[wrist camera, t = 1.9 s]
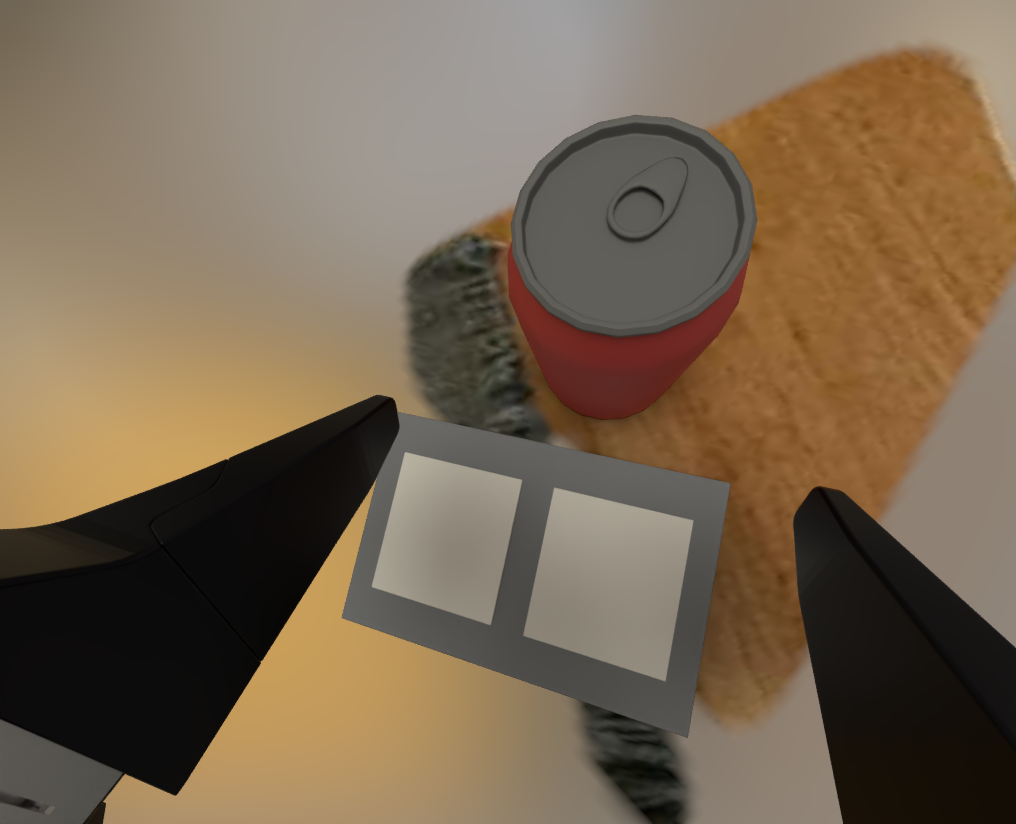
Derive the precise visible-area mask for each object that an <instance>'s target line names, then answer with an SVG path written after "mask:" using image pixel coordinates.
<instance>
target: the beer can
mask: <svg viewBox="0 0 1016 824" xmlns="http://www.w3.org/2000/svg"><path fill="white" fill-rule="evenodd" d="M756 224H757V215H756V208H755V201H754V195H753V188H752V184H751V182H750V180H749V178H748V177H747V175H746V173H745V172H744V170H743V168H742V166H741V165H740V163H739V161H738V160H737V158H736V156H735V154H734V153H733V152H731V151H730V150H729V149H728V148H727V147H725V146H724V145H723V144H722V143H721V142H719V141H718V140H717V139H716V138H714V137H713V136H712V135H711V134H710V133H708V132H707V131H705V130H703V129H700V128H698V127H695V126H692V125H690V124H687V123H684V122H682V121H679V120H677V119H674V118H669V117H655V116H654V117H653V116H642V115H633V116H628V117H623V118H618V119H613V120H608V121H603V122H598V123H596V124H594V125H592V126H590V127H588V128H586V129H584V130H582V131H580V132H578V133H576V134H574V135H572V136H570V137H568V138H566V139H564V140H563V141H562V142H561V143H560V144H559V145H558V146H556V147H555V148H554V149H553V150H552V151H551V152H550V153H548V155H546V156H545V157H544V158H543V159H542V160H541V161H539V163H538V164H537V166H536V167H535V169H534V170H533V172H532V173H531V175H530V176H529V178H528V180H527V181H526V183H525V184H524V186H523V187H522V189H521V190H520V193H519V196H518V200H517V204H516V207H515V211H514V214H513V218H512V221H511V232H512V242H511V245H510V249H509V252H508V279H509V298H510V300H511V303H512V305H513V308H514V310H515V313H516V315H517V317H518V320H519V322H520V325H521V327H522V330H523V332H524V334H525V336H526V338H527V340H528V342H529V344H530V347H531V349H532V351H533V353H534V355H535V357H536V359H537V361H538V364H539V366H540V368H541V370H542V372H543V374H544V376H545V378H546V381H547V383H548V385H549V387H550V389H551V390H552V391H553V392H554V394H555V395H556V396H557V397H558V398H559V399H560V401H561V402H562V403H563V404H564V405H566V406H568V407H569V408H571V409H573V410H574V411H576V412H578V413H579V414H581V415H585V416H589V417H593V418H598V419H602V420H603V419H617V418H625V417H628V416H630V415H633V414H635V413H638V412H640V411H643V410H645V409H646V408H647V407H648V406H650V405H651V404H652V403H653V402H655V401H656V400H657V399H658V398H659V397H661V396H662V395H663V394H664V392H665V391H666V390H667V389H668V388H669V387H670V386H671V385H672V384H673V383H674V382H675V381H676V380H677V379H678V378H679V377H680V375H681V374H682V373H683V372H684V371H685V370H686V369H687V368H688V367H689V366H690V365H691V364H692V363H693V362H694V361H695V359H696V358H697V357H698V356H699V355H700V354H701V353H702V352H703V351H704V350H705V349H706V348H707V347H708V346H709V345H710V343H711V342H712V341H713V340H714V339H715V338H716V337H717V336H718V335H719V333H720V332H721V330H722V328H723V327H724V325H725V324H726V322H727V320H728V319H729V317H730V316H731V314H732V313H733V311H734V309H735V308H736V306H737V305H738V303H739V299H740V296H741V292H742V288H743V284H744V279H745V275H746V270H747V265H748V261H749V256H750V251H751V246H752V242H753V237H754V233H755V228H756Z"/></svg>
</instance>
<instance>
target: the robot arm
mask: <svg viewBox="0 0 1016 824" xmlns="http://www.w3.org/2000/svg"><path fill="white" fill-rule="evenodd" d="M399 428H400V424H399V418H398V413H397V408H396V403H395V401H394V399H393V398H391V397H387V396H382V395H375V396H373V397H370V398H368V399H366V400H363V401H361V402H359V403H356V404H354V405H352V406H349V407H347V408H345V409H343V410H341V411H338V412H336V413H333V414H331V415H329V416H326V417H324V418H322V419H319V420H317V421H314V422H312V423H310V424H307V425H305V426H303V427H300V428H298V429H296V430H293V431H291V432H289V433H286V434H284V435H282V436H280V437H277V438H274V439H272V440H270V441H268V442H265V443H263V444H261V445H258V446H256V447H254V448H251V449H249V450H247V451H244V452H242V453H239V454H237V455H235V456H233V457H230V458H229V460H227V459H225V460H223V461H220V462H218V463H216V464H214V465H211V466H209V467H207V468H204V469H202V470H199V471H197V472H194V473H192V474H189V475H187V476H185V477H182V478H180V479H177V480H174V481H172V482H169V483H166V484H164V485H161V486H159V487H156V488H153V489H151V490H148V491H145V492H142V493H139V494H137V495H134V496H131V497H128V498H126V499H123V500H120V501H117V502H115V503H112V504H109V505H106V506H104V507H101V508H98V509H96V510H93V511H90V512H87V513H85V514H82V515H79V516H76V517H73V518H70V519H67V520H64V521H60V522H56V523H52V524H48V525H43V526H37V527H29V528H19V529H0V824H103V819H104V813H105V807H106V803H104V802H103V801H104V800H105V799H106V797H107V796H108V795H109V794H110V792H111V791H112V790H113V788H114V787H115V786H116V785H117V784H118V782H119V781H120V780H121V778H122V777H123V776H124V775H125V774H126V775H129V776H131V777H133V778H135V779H138V780H140V781H142V782H145V783H147V784H149V785H152V786H154V787H156V788H158V789H161V790H163V791H165V792H167V793H170V794H172V795H175V796H176V795H177V794H178V793H179V791H180V790H181V788H182V787H183V786H184V784H185V783H186V781H187V780H188V778H189V776H190V775H191V773H192V772H193V770H194V769H195V767H196V765H197V764H198V762H199V761H200V759H201V757H202V756H203V754H204V753H205V751H206V750H207V748H208V746H209V745H210V743H211V742H212V740H213V738H214V737H215V735H216V734H217V732H218V730H219V729H220V727H221V726H222V724H223V723H224V721H225V719H226V718H227V716H228V715H229V713H230V712H231V710H232V708H233V707H234V705H235V703H236V702H237V700H238V699H239V697H240V696H241V694H242V693H243V691H244V689H245V688H246V686H247V685H248V683H249V681H250V680H251V678H252V676H253V675H254V673H255V672H256V670H257V669H258V667H259V666H260V664H261V661H262V660H263V659H264V657H265V656H266V654H267V652H268V651H269V649H270V647H271V646H272V644H273V643H274V641H275V640H276V638H277V637H278V635H279V633H280V632H281V630H282V629H283V627H284V625H285V624H286V622H287V621H288V619H289V618H290V616H291V614H292V613H293V611H294V610H295V608H296V606H297V605H298V603H299V602H300V600H301V599H302V597H303V595H304V594H305V592H306V591H307V589H308V587H309V586H310V584H311V583H312V581H313V579H314V578H315V576H316V575H317V573H318V572H319V570H320V568H321V567H322V565H323V564H324V562H325V560H326V559H327V557H328V556H329V554H330V553H331V551H332V549H333V548H334V546H335V544H336V543H337V541H338V540H339V538H340V537H341V535H342V533H343V532H344V530H345V529H346V527H347V526H348V524H349V522H350V521H351V519H352V517H353V516H354V514H355V513H356V511H357V510H358V508H359V507H360V505H361V503H362V502H363V500H364V499H365V497H366V495H367V494H368V492H369V490H370V489H371V487H372V486H373V484H374V482H375V480H376V478H377V476H378V474H379V472H380V470H381V468H382V466H383V464H384V462H385V460H386V458H387V455H388V453H389V451H390V449H391V447H392V445H393V443H394V441H395V439H396V437H397V435H398V432H399ZM793 527H794V542H795V557H796V572H797V585H798V595H799V601H800V607H801V613H802V618H803V623H804V628H805V633H806V638H807V643H808V648H809V653H810V658H811V663H812V668H813V673H814V678H815V684H816V689H817V693H818V698H819V704H820V709H821V714H822V719H823V724H824V729H825V734H826V739H827V744H828V749H829V754H830V760H831V765H832V769H833V775H834V780H835V785H836V790H837V795H838V799H839V805H840V810H841V815H842V820H843V824H1016V648H1015V647H1014V646H1013V645H1012V644H1011V643H1010V642H1009V641H1008V640H1007V639H1006V638H1004V637H1003V636H1002V635H1001V634H1000V633H999V632H998V631H997V630H996V629H994V628H993V627H992V626H991V625H990V624H989V623H988V622H987V621H986V620H984V619H983V618H982V617H981V616H980V615H979V614H978V613H977V612H976V611H974V610H973V609H972V608H971V607H970V606H969V605H968V604H967V603H966V602H964V601H963V600H962V599H961V598H960V597H959V596H958V595H957V594H956V593H955V592H953V591H952V590H951V589H950V588H949V587H948V586H947V585H946V584H945V583H944V582H942V581H941V580H940V579H939V578H938V577H937V576H936V575H935V574H934V573H933V572H931V571H930V570H929V569H928V568H927V567H926V566H925V565H924V564H923V563H921V562H920V561H919V560H918V559H917V558H916V557H915V556H914V555H913V554H911V553H910V552H909V551H908V550H907V549H906V548H905V547H904V546H902V545H901V544H900V543H899V542H898V541H897V540H896V539H895V538H894V537H893V536H891V535H890V534H889V533H888V532H887V531H886V530H885V529H884V528H883V527H882V526H881V525H879V524H878V523H877V522H876V521H875V520H874V519H873V518H872V517H871V516H869V515H868V514H867V513H866V512H865V511H864V510H863V509H862V508H861V507H859V506H858V505H857V504H856V503H855V502H854V501H853V500H852V499H851V498H850V497H848V496H847V495H846V494H845V493H844V492H842V491H840V490H836V489H831V488H827V487H822V486H818V487H815V488H813V489H812V490H811V492H810V493H809V494H808V496H807V497H806V499H805V500H804V501H803V503H802V504H801V506H800V507H799V509H798V510H797V511H796V513H795V516H794V521H793Z"/></svg>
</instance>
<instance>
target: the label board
mask: <svg viewBox="0 0 1016 824" xmlns="http://www.w3.org/2000/svg"><path fill="white" fill-rule="evenodd" d="M397 413H398V418H399V424H400V428H399V432H398V435H397V437H396V439H395V441H394V443H393V445H392V447H391V449H390V451H389V453H388V455H387V458H386V460H385V462H384V464H383V466H382V468H381V470H380V472H379V474H378V476H377V480H376V484H375V488H374V492H373V496H372V499H371V504H370V508H369V511H368V515H367V519H366V523H365V527H364V531H363V535H362V539H361V543H360V547H359V551H358V555H357V559H356V563H355V567H354V571H353V575H352V579H351V583H350V587H349V590H348V594H347V599H346V602H345V606H344V610H343V614H342V618H343V619H346V620H349V621H352V622H355V623H358V624H360V625H363V626H366V627H369V628H372V629H375V630H378V631H381V632H384V633H386V634H389V635H393V636H395V637H398V638H401V639H404V640H407V641H410V642H413V643H415V644H418V645H421V646H424V647H427V648H430V649H433V650H436V651H438V652H441V653H444V654H447V655H450V656H453V657H456V658H459V659H462V660H464V661H467V662H470V663H473V664H476V665H479V666H482V667H485V668H488V669H491V670H493V671H496V672H499V673H502V674H505V675H508V676H511V677H514V678H516V679H520V680H522V681H525V682H528V683H531V684H534V685H537V686H540V687H542V688H546V689H548V690H551V691H554V692H557V693H560V694H563V695H566V696H568V697H571V698H574V699H577V700H580V701H583V702H586V703H589V704H592V705H594V706H597V707H600V708H603V709H606V710H609V711H612V712H615V713H618V714H620V715H623V716H626V717H629V718H632V719H635V720H638V721H641V722H644V723H646V724H649V725H652V726H655V727H658V728H661V729H664V730H667V731H670V732H672V733H675V734H678V735H681V736H684V737H687V738H688V733H689V727H690V721H691V715H692V709H693V704H694V698H695V692H696V686H697V680H698V674H699V668H700V662H701V656H702V650H703V644H704V638H705V632H706V626H707V620H708V614H709V608H710V602H711V596H712V590H713V584H714V578H715V572H716V566H717V560H718V554H719V548H720V542H721V536H722V530H723V524H724V518H725V512H726V507H727V501H728V495H729V489H730V483H726V482H722V481H717V480H712V479H708V478H703V477H699V476H694V475H689V474H685V473H680V472H675V471H671V470H666V469H661V468H657V467H652V466H647V465H643V464H638V463H633V462H629V461H624V460H619V459H615V458H610V457H605V456H601V455H596V454H591V453H587V452H582V451H577V450H573V449H568V448H563V447H559V446H554V445H550V444H545V443H540V442H536V441H531V440H526V439H522V438H517V437H512V436H508V435H503V434H498V433H494V432H489V431H484V430H480V429H475V428H470V427H466V426H461V425H456V424H452V423H447V422H442V421H438V420H433V419H428V418H424V417H419V416H414V415H410V414H405V413H401V412H397Z"/></svg>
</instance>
